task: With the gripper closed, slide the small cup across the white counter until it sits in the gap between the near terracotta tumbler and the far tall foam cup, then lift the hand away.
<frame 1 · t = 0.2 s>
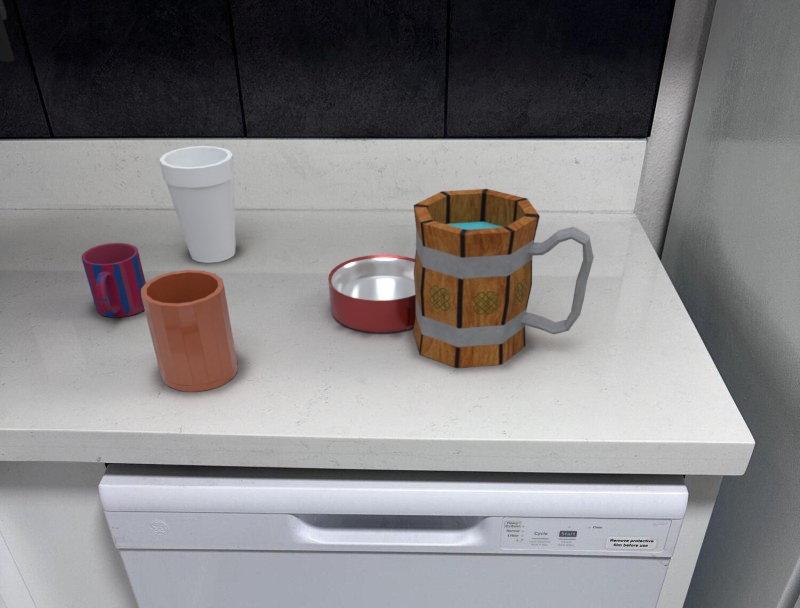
tumbler: (200, 371, 88), on the counter
foam cup: (213, 254, 113), on the counter
cup: (119, 313, 99), on the counter
mug: (494, 343, 93), on the counter
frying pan: (403, 279, 106), on the counter
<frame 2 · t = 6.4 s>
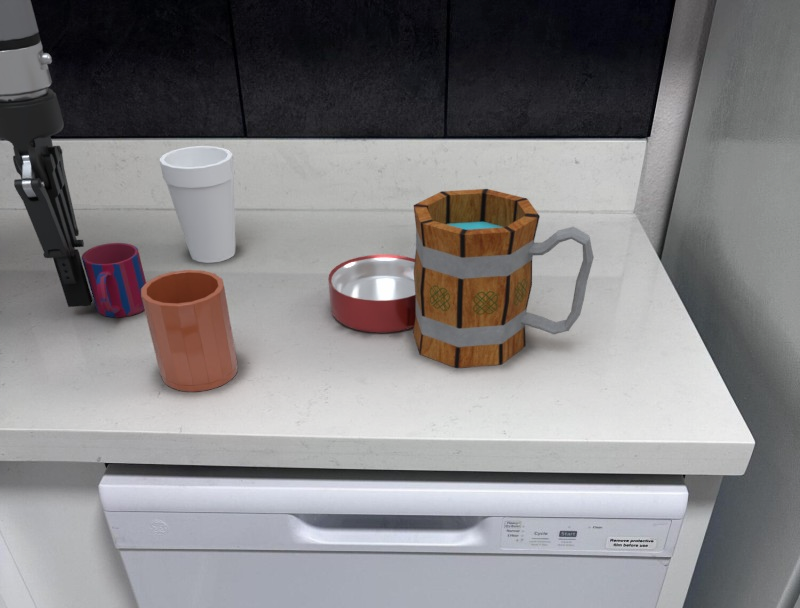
hand: (80, 303, 98), 2 cm above the counter, tool pointing down, fingers closed
cup: (119, 313, 99), on the counter, touching gripper
everything else where it was.
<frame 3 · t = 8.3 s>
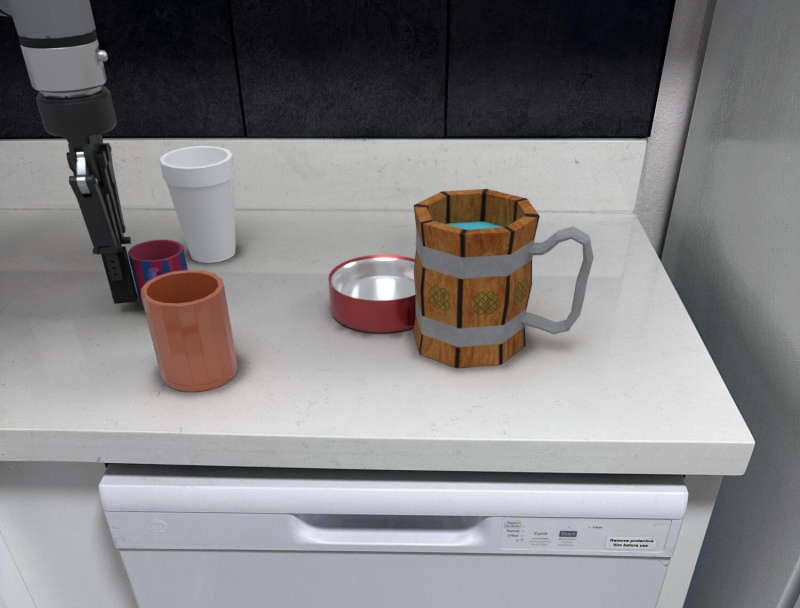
hand: (126, 300, 98), 2 cm above the counter, tool pointing down, fingers closed
cup: (164, 309, 100), on the counter, touching gripper
everything else where it was.
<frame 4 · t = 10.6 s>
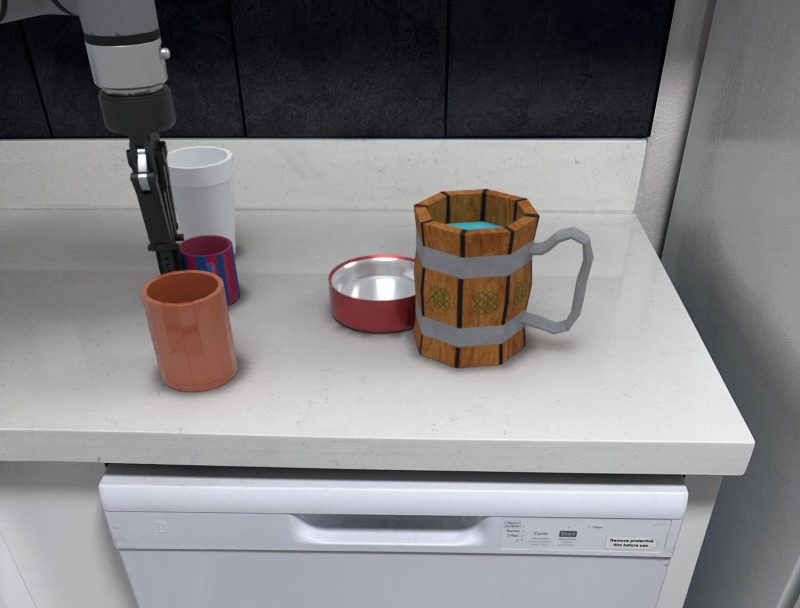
hand: (177, 297, 99), 2 cm above the counter, tool pointing down, fingers closed
cup: (214, 304, 101), on the counter, touching gripper
everything else where it was.
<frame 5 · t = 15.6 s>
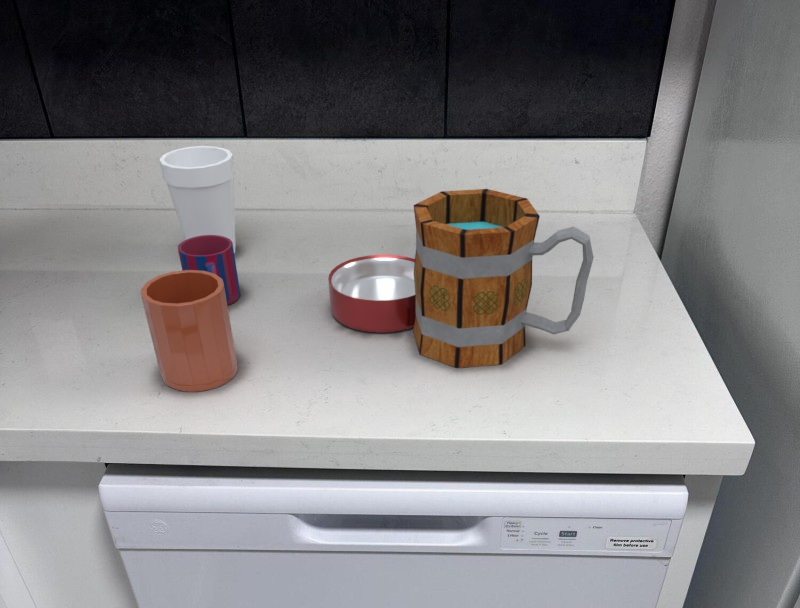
cup: (214, 304, 101), on the counter
everything else where it was.
at the end: cup inside the target area on the counter beside the tumbler (1.8 cm from its centre), on the counter; cup tilted 0°; foam cup moved 0.2 cm from its start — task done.
